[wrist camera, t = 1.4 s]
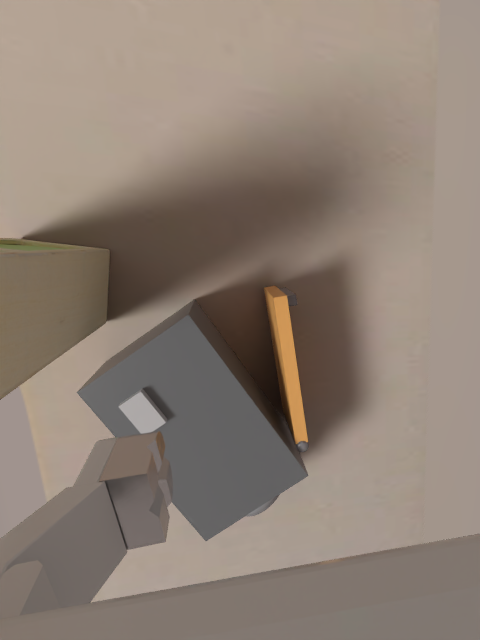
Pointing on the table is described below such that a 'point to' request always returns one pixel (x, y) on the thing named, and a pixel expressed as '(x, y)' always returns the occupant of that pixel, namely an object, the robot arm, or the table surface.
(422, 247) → the table surface
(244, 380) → the gray box
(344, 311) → the table surface
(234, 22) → the table surface
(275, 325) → the door
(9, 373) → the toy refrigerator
